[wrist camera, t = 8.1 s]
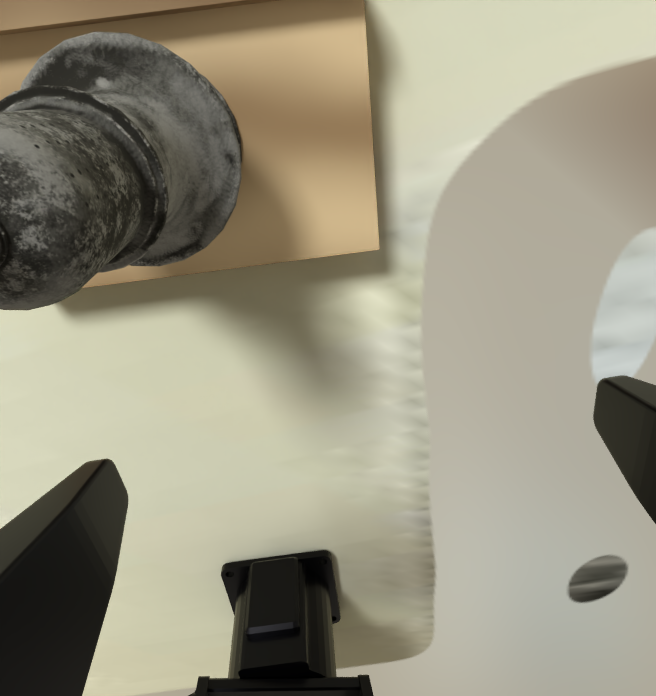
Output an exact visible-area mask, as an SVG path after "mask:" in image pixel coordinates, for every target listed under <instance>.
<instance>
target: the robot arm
mask: <svg viewBox="0 0 656 696" xmlns="http://www.w3.org/2000/svg"><path fill="white" fill-rule="evenodd" d="M593 417H594V424H595V427H596V429H597V431H598V433H599V434H600V436H601V438H602V439H603V441H604V443H605V445H606V446H607V448H608V450H609V451H610V453H611V455H612V457H613V458H614V460H615V462H616V463H617V465H618V467H619V469H620V470H621V472H622V474H623V475H624V477H625V479H626V481H627V482H628V484H629V486H630V487H631V489H632V490H633V492H634V494H635V495H636V497H637V498H638V500H639V501H640V503H641V504H642V506H643V507H644V509H645V510H646V511H647V513H648V514H649V516H650V517H651V518H652V520H653V521H654V522H655V524H656V385H653V384H650V383H647V382H644V381H641V380H638V379H634V378H631V377H628V376H615V377H609V378H604V379H602V380H600V381H599V383H598V386H597V392H596V399H595V406H594V415H593ZM127 508H128V494H127V490H126V488H125V486H124V484H123V481H122V479H121V477H120V475H119V473H118V470H117V468H116V466H115V464H114V462H113V461H112V460H110V459H101V460H95V461H89V462H86V463H85V464H83V465H82V466H81V467H79V468H78V469H77V470H76V471H74V472H73V473H72V474H70V475H69V476H68V477H67V478H65V479H64V480H63V481H61V482H60V483H59V484H58V485H56V486H55V487H54V488H52V489H51V490H50V491H49V492H47V493H46V494H45V495H43V496H42V497H41V498H40V499H38V500H37V501H36V502H34V503H33V504H32V505H31V506H29V507H28V508H27V509H25V510H24V511H23V512H22V513H20V514H19V515H18V516H16V517H15V518H14V519H13V520H11V521H10V522H9V523H7V524H6V525H5V526H4V527H2V528H1V529H0V696H82V694H83V690H84V687H85V683H86V680H87V676H88V673H89V669H90V666H91V663H92V659H93V656H94V652H95V649H96V645H97V642H98V638H99V635H100V631H101V628H102V624H103V621H104V617H105V614H106V610H107V607H108V603H109V600H110V597H111V593H112V589H113V585H114V581H115V576H116V571H117V566H118V560H119V554H120V548H121V543H122V537H123V531H124V525H125V519H126V514H127ZM221 576H222V579H223V582H224V585H225V588H226V591H227V594H228V597H229V600H230V603H231V606H232V609H233V612H234V615H235V617H234V627H233V636H232V646H231V655H230V664H229V674H228V678H210V676H199V678H198V683H197V688H196V691H195V692H194V693H192V694H191V695H189V696H373V692H372V687H371V683H370V679H369V675H358V677H336V666H335V653H334V640H333V628H332V624H334V623H337V622H339V621H340V618H341V617H340V609H339V603H338V596H337V590H336V584H335V578H334V572H333V565H332V559H331V554H330V553H329V552H328V551H325V550H321V551H314V552H306V553H299V554H291V555H284V556H276V557H269V558H261V559H254V560H246V561H239V562H231V563H226V564H224V565H223V567H222V571H221Z"/></svg>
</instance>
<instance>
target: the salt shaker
mask: <svg viewBox="0 0 656 696" xmlns="http://www.w3.org/2000/svg"><path fill="white" fill-rule="evenodd" d="M241 163H242V151H241V137H240V134H239V131H238V127H237V124H236V120H235V117H234V115H233V113H232V111H231V110H230V108H229V106H228V104H227V103H226V101H225V99H224V97H223V96H222V94H221V93H220V92H219V91H218V90H217V89H216V88H215V87H214V86H213V85H212V84H211V83H210V82H209V80H208V79H207V78H206V77H204V76H203V75H201V74H200V73H199V72H198V71H197V70H196V69H195V68H194V67H193V66H192V65H191V64H190V63H189V62H187V61H186V60H184V59H183V58H181V57H179V56H178V55H176V54H175V53H173V52H172V51H170V50H169V49H167V48H166V47H164V46H163V45H161V44H158V43H155V42H152V41H149V40H147V39H144V38H141V37H138V36H135V35H132V34H129V33H114V32H92V33H88V34H85V35H81V36H77V37H74V38H70V39H67V40H64V41H62V42H61V43H60V44H58V45H57V46H55V47H54V48H52V49H51V50H50V51H48V52H47V53H45V54H44V55H42V56H41V57H40V58H39V59H38V60H37V62H36V63H35V65H34V66H33V68H32V69H31V70H30V72H29V73H28V75H27V76H26V77H25V79H24V80H23V82H22V84H21V88H20V90H18V91H14V92H12V93H11V94H9V95H8V96H6V97H5V98H3V99H2V100H0V309H3V310H31V309H35V308H39V307H44V306H48V305H51V304H54V303H57V302H60V301H62V300H63V299H65V298H67V297H69V296H70V295H72V294H74V293H76V292H77V291H79V290H80V289H81V288H82V287H83V286H84V285H85V284H86V283H87V282H88V281H89V280H90V279H91V278H92V277H94V276H95V275H96V274H97V273H104V272H108V271H112V270H117V269H121V268H124V267H126V266H128V265H130V266H163V265H167V264H171V263H175V262H179V261H183V260H185V259H187V258H189V257H191V256H192V255H194V254H196V253H198V252H199V251H201V250H203V249H205V248H206V247H207V246H208V245H209V244H210V243H211V242H212V241H213V240H214V239H215V238H216V237H217V236H218V235H219V234H220V233H221V232H222V231H223V229H224V227H225V226H226V224H227V222H228V220H229V218H230V216H231V214H232V212H233V210H234V208H235V206H236V203H237V198H238V193H239V188H240V184H241V179H242V177H241Z"/></svg>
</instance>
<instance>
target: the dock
mask: <svg viewBox="0 0 656 696" xmlns="http://www.w3.org/2000/svg"><path fill="white" fill-rule="evenodd" d="M92 32H114V33H129V34H132V35H135V36H138V37H141V38H144V39H147V40H149V41H152V42H155V43H158V44H161V45H163V46H164V47H166V48H167V49H169V50H170V51H172V52H173V53H175V54H176V55H178V56H179V57H181V58H183V59H184V60H186V61H187V62H189V63H190V64H191V65H192V66H193V67H194V68H195V69H196V70H197V71H198V72H199V73H200V74H201V75H203V76H204V77H206V78H207V79H208V80H209V82H210V83H211V84H212V85H213V86H214V87H215V88H216V89H217V90H218V91H219V92H220V93H221V94H222V96H223V97H224V99H225V101H226V103H227V104H228V106H229V108H230V110H231V111H232V113H233V115H234V117H235V120H236V124H237V127H238V131H239V134H240V137H241V151H242V163H241V177H242V179H241V184H240V188H239V193H238V198H237V203H236V206H235V208H234V210H233V212H232V214H231V216H230V218H229V220H228V222H227V224H226V226H225V227H224V229H223V231H222V232H221V233H220V234H219V235H218V236H217V237H216V238H215V239H214V240H213V241H212V242H211V243H210V244H209V245H208V246H207V247H206V248H205V249H203V250H201V251H199V252H198V253H196V254H194V255H192V256H191V257H189V258H187V259H185V260H183V261H179V262H175V263H171V264H167V265H163V266H130V265H128V266H126V267H124V268H121V269H117V270H112V271H108V272H104V273H97V274H96V275H95V276H94V277H92V278H91V279H90V280H89V281H88V282H87V283H86V284H85V285H84V286H83V287H82V288H86V287H94V286H102V285H109V284H117V283H125V282H132V281H140V280H148V279H156V278H163V277H171V276H179V275H187V274H194V273H202V272H210V271H218V270H225V269H233V268H241V267H249V266H256V265H264V264H272V263H280V262H287V261H295V260H303V259H311V258H318V257H326V256H334V255H342V254H349V253H357V252H365V251H373V250H379V234H378V218H377V201H376V185H375V169H374V153H373V137H372V120H371V104H370V88H369V72H368V55H367V39H366V23H365V7H364V0H0V100H2V99H3V98H5V97H6V96H8V95H9V94H11V93H12V92H14V91H18V90H20V88H21V84H22V82H23V80H24V79H25V77H26V76H27V75H28V73H29V72H30V70H31V69H32V68H33V66H34V65H35V63H36V62H37V60H38V59H39V58H40V57H41V56H42V55H44V54H45V53H47V52H48V51H50V50H51V49H52V48H54V47H55V46H57V45H58V44H60V43H61V42H62V41H64V40H67V39H70V38H74V37H77V36H81V35H85V34H88V33H92Z"/></svg>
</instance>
